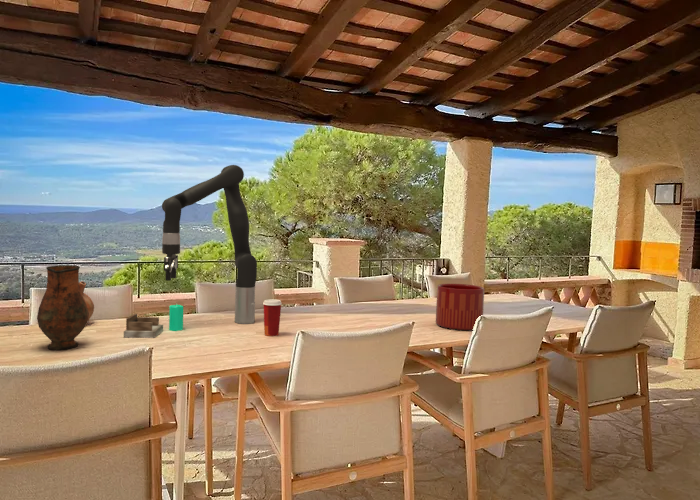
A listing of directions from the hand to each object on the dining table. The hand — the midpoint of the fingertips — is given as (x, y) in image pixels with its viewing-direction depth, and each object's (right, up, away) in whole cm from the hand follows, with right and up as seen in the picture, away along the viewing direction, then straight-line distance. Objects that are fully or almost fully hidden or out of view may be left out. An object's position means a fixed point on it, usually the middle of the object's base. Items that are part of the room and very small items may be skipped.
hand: (171, 279), depth 223 cm
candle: (+3, -22, -3) cm, 23 cm away
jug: (-44, -20, -1) cm, 49 cm away
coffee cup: (+46, -24, -6) cm, 52 cm away
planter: (+135, -26, +28) cm, 140 cm away
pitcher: (-27, -23, -35) cm, 50 cm away
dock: (-7, -22, -13) cm, 26 cm away
